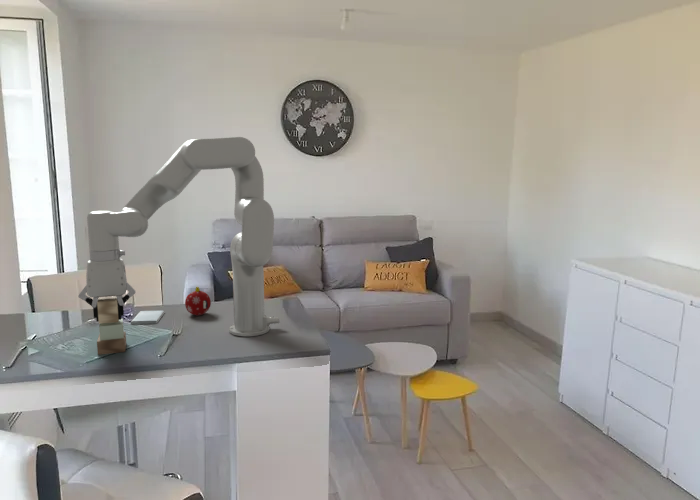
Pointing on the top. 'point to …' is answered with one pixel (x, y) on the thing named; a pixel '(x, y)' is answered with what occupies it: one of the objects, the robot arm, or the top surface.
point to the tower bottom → (111, 345)
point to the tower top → (111, 330)
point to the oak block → (107, 310)
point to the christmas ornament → (197, 302)
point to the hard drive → (147, 317)
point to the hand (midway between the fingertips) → (109, 318)
